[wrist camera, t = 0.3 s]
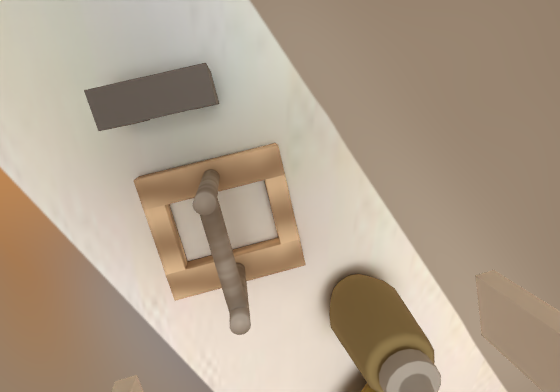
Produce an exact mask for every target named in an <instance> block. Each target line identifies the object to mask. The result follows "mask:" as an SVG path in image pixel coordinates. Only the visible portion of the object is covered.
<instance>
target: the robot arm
mask: <svg viewBox="0 0 560 392" xmlns="http://www.w3.org/2000/svg"><path fill="white" fill-rule="evenodd" d="M475 277H476V286H477V295H478V306H479V315H480V325H481V335H482V336H483V337H484V338H485V339H486V340H487V341H488V342H489V343H490V344H491V345H493V346H494V347H495V348H496V349H497V350H498V351H499V352H500V353H501V354H502V355H503V356H505V357H506V358H507V359H508V360H509V361H510V362H511V363H512V364H513V365H514V366H515V367H517V368H518V369H519V370H520V371H521V372H522V373H523V374H524V375H525V376H527V377H528V378H529V379H530V380H531V381H532V382H533V383H534V384H535V385H536V386H537V387H539V388H540V389H541V390H542V391H543V392H560V311H558V310H557V309H555V308H554V307H552V306H550V305H549V304H547V303H546V302H544V301H542V300H541V299H539V298H538V297H536V296H534V295H533V294H531V293H530V292H528V291H526V290H525V289H523V288H522V287H520V286H518V285H517V284H515V283H514V282H512V281H511V280H509V279H507V278H505V277H504V276H503V275H501V274H499V273H498V272H496V271H495V270H492V271H489V272H485V273H482V274H478V275H476V276H475ZM111 392H144V391H143V389H142V386H141V384H140V382H139V379H138V377H137V375H134V376H131V377H127V378H124V379H120V380H117V381H116V382H115V383H114V386H113V388H112V391H111Z"/></svg>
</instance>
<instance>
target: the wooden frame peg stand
mask: <svg viewBox="0 0 560 392" xmlns="http://www.w3.org/2000/svg"><path fill="white" fill-rule="evenodd" d="M262 180H265V185H266V189H267V193H268V197H269V201H270V205H271V209H272V213H273V217H274V221H275V225H276V229H277V233H278V238H275V239H271V240H267V241H264V242H260V243H256V244H252V245H249V246H245V247H241V248H237V249H233V250H232V247H231V244H230V240H229V237H228V233H227V230H226V226H225V223H224V219H223V216H222V212H221V209H220V205H219V202H218V198H217V194H218V191H222V190H226V189H230V188H234V187H238V186H242V185H246V184H250V183H254V182H258V181H262ZM134 183H135V186H136V189H137V192H138V195H139V198H140V201H141V204H142V207H143V209H144V212H145V215H146V218H147V221H148V224H149V227H150V230H151V233H152V236H153V239H154V242H155V245H156V247H157V250H158V253H159V256H160V259H161V262H162V265H163V268H164V271H165V274H166V277H167V280H168V282H169V285H170V288H171V291H172V294H173V297H174V300H175V301H176V300H179V299H183V298H187V297H190V296H194V295H198V294H201V293H205V292H209V291H212V290H216V289H220V288H222V290H223V293H224V296H225V300H226V303H227V306H228V310H229V313H230V329H231V331H232V332H233V333H235V334H237V335H242V334H245V333H246V332H248V331H249V329H250V326H251V323H250V313H249V303H248V293H247V283H246V281H249V280H253V279H256V278H260V277H264V276H267V275H271V274H275V273H278V272H282V271H286V270H289V269H293V268H297V267H300V266H304V265H305V260H304V256H303V252H302V247H301V243H300V239H299V234H298V230H297V225H296V221H295V217H294V212H293V208H292V204H291V199H290V195H289V190H288V186H287V182H286V177H285V173H284V169H283V164H282V160H281V156H280V151H279V147H278V144H276V143H273V144H269V145H265V146H261V147H257V148H253V149H249V150H245V151H241V152H237V153H233V154H229V155H224V156H220V157H216V158H212V159H208V160H204V161H200V162H196V163H192V164H188V165H184V166H180V167H176V168H172V169H168V170H164V171H159V172H155V173H151V174H147V175H143V176H139V177H138V178H136V179H135V180H134ZM191 198H194V201H193V208H194V210H195V211H196V212H197V213H198V214H200V216H201V220H202V223H203V226H204V230H205V233H206V236H207V240H208V243H209V246H210V250H211V253H212V255H211V256H207V257H203V258H200V259H196V260H192V261H187V258H186V255H185V252H184V249H183V246H182V243H181V240H180V236H179V233H178V230H177V227H176V224H175V221H174V218H173V215H172V212H171V209H170V205H169V204H171V203H175V202H179V201H183V200H187V199H191Z"/></svg>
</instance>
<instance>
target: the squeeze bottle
mask: <svg viewBox="0 0 560 392" xmlns="http://www.w3.org/2000/svg"><path fill="white" fill-rule="evenodd" d="M329 316H330V325H331V328H332V330H333V331H334V333H335V334H336V336H337V338H338V339H339V341H340V342H341V344H342V345H343V347H344V348H345V350H346V351H347V353H348V354H349V356H350V357H351V359H352V360H353V362H354V363H355V365H356V366H357V368H358V369H359V371H360V372H361V374H362V375H363V377H364V379H365V380H366V382H367V383H368V385H369V386H370V388H372V389H373V390H375V391H377V392H438V390H439V388H440V385H441V375H440V373H439V371H438V369H437V368H436V366H435V365H434V349H433V348H432V346H431V344H430V342H429V340H428V339H427V337H426V336H425V334H424V332H423V331H422V329H421V328H420V326H419V325H418V323H417V322H416V320H415V319H414V317H413V316H412V314H411V313H410V311H409V310H408V308H407V307H406V305H405V304H404V302H403V300H402V299H401V297H400V296H399V294H398V293H397V291H396V290H395V288H393V287H392V286H390V285H389V284H387V283H386V282H385V281H382V280H379V279H376V278H373V277H370V276H367V275H362V274H355V275H349V276H347V277H345V278H344V279H342V280H340V281H339V283H338V284H337V285H336V286H335V287H334V289H333V292H332V295H331V301H330V312H329Z"/></svg>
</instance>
